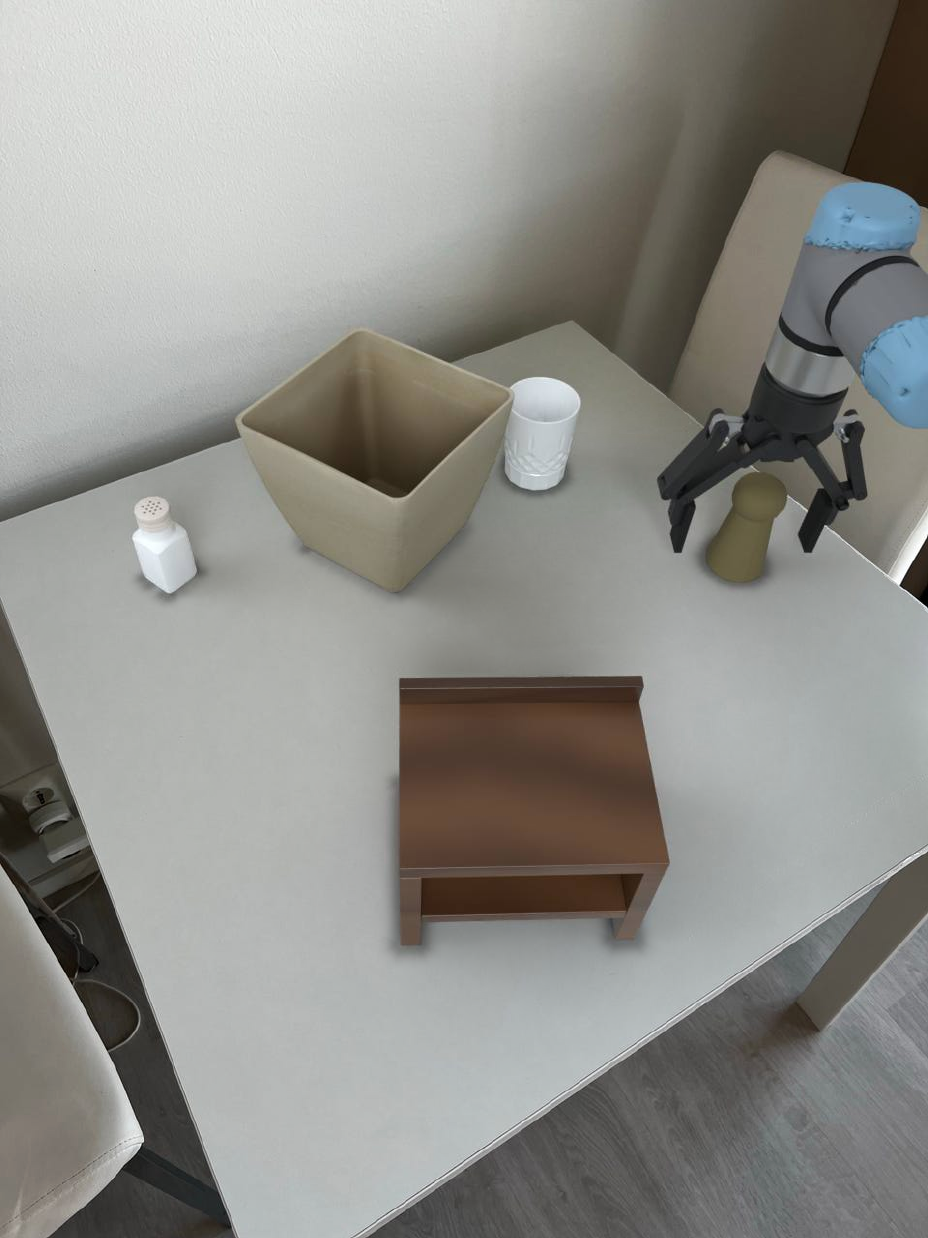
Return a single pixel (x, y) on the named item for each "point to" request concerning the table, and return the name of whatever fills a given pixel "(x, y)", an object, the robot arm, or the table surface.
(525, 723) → the miniature wooden nightstand
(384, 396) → the flower pot
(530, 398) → the white cup
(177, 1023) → the table surface
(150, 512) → the salt shaker
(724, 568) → the olive pawn
